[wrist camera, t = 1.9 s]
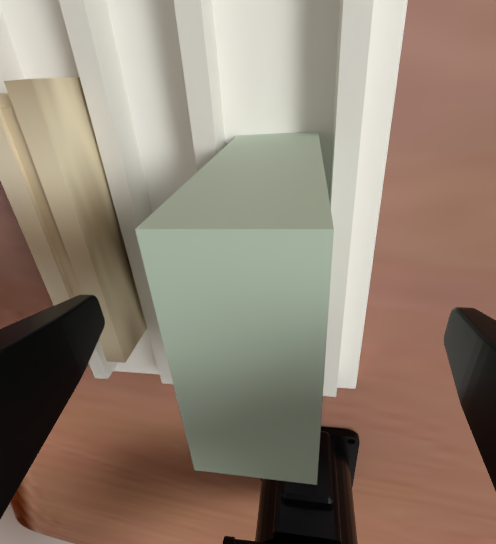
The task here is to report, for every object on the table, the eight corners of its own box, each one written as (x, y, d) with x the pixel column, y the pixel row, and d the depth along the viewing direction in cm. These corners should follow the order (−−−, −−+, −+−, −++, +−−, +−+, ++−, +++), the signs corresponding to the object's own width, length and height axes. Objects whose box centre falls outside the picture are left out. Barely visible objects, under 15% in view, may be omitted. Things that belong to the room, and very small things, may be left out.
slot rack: (353, 374, 20) (359, 412, 17) (111, 358, 22) (90, 389, 20) (418, -137, 10) (449, -196, 7) (-39, -63, 12) (-114, -92, 10)
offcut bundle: (155, 314, 18) (125, 362, 15) (108, 312, 19) (70, 358, 16) (96, 76, 13) (31, 78, 10) (32, 81, 13) (-50, 85, 10)
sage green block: (312, 282, 16) (316, 484, 8) (248, 281, 16) (194, 470, 9) (318, 131, 12) (333, 229, 5) (237, 135, 13) (135, 229, 5)
